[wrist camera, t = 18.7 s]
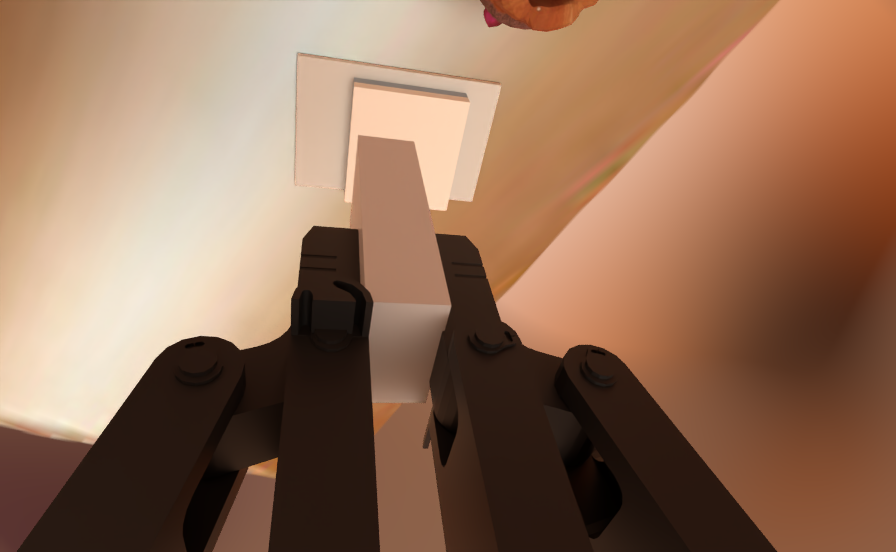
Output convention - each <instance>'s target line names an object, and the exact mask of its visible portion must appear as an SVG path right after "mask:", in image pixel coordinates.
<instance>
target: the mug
mask: <svg viewBox="0 0 896 552" xmlns="http://www.w3.org/2000/svg"><path fill="white" fill-rule="evenodd" d="M480 1H481V2H482V4H483V5H484V6H485V10H484V18H485V21H486V23H487V25H488V27H495V26H498V25H500V24H502V23H503V24H505V25H508V26H510V27H514V28H520V29H532V30H537V31H545V32H547V31H552V30H557V29H561V28H564V27H566V26H569V25H571V24H572V23H573V22H574V21H575V20H576V18H577V17H578V16H579V13H580V12H581V11H582V10H583V9H584V8H587V7H590V6H593V5H595V4H596V3H597V1H598V0H480Z"/></svg>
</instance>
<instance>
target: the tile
mask: <svg viewBox="0 0 896 552" xmlns="http://www.w3.org/2000/svg"><path fill="white" fill-rule="evenodd" d="M469 106H470V101H469V99H468V97H467V94H466V93H461V92H454V91H447V90H440V89H433V88H426V87H419V86H412V85H405V84H397V83H390V82H383V81H376V80H369V79H362V78H355V77H354V81H353V93H352V105H351V117H350V129H349V142H348V154H347V166H346V178H345V190H344V202H352V194H353V184H354V173H355V163H356V152H357V142H358V135H363V136H372V137H380V138H389V139H397V140H406V141H414V143H415V147H416V152H417V156H418V161H419V165H420V169H421V174H422V178H423V183H424V187H425V191H426V196H427V200H428V205H429V209H433V210H444V211H446V210H447V205H448V201H449V196H450V192H451V187H452V183H453V178H454V174H455V169H456V165H457V160H458V156H459V151H460V147H461V142H462V138H463V133H464V129H465V124H466V120H467V115H468V111H469Z"/></svg>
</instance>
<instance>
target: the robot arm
mask: <svg viewBox="0 0 896 552" xmlns="http://www.w3.org/2000/svg"><path fill="white" fill-rule="evenodd" d="M482 265H483V263H482V260H481V257H480V254H479V251H478V249H477V248H476V247H475V246H474V245H473V243H472V242H471V241H470V240H469V239H468V238H467V237H466V236H460V235H447V234H435V231H434V227H433V222H432V218H431V213H430V209H429V205H428V200H427V196H426V191H425V187H424V183H423V178H422V174H421V169H420V165H419V161H418V156H417V152H416V147H415V143H414V141H406V140H397V139H389V138H380V137H372V136H363V135H358V142H357V152H356V163H355V173H354V184H353V194H352V205H351V216H350V229H348V228H334V227H321V226H313V227H312V228H311V230H310V231H309V232H308V233H307V234H306V235H305V237H304V238H303V240H302V250H301V260H300V270H299V279H298V287H297V288H296V289H295V291H294V294H293V296H292V298H291V326H290V328H289V329H288V331H286V332H285V333H284V334H283V335H282V336H281V337H279V338H277V339H276V340H274V341H272V342H270V343H267V344H264V345H261V346H257V347H253V348H248V349H244V350H239V349H238V348H237V347H236V346H235V345H234V344H233V343H232V342H229V341H227V340H224V339H221V338H219V337H208V336H198V337H193V338H188V339H184V340H181V341H179V342H177V343H175V344H173V345H171V346H169V347H167V348H166V349H165V350H164V351H163V352H162V353H161V354H160V355H159V356H158V357H157V358H156V359H155V360H154V361H153V363H152V364H151V366H150V367H149V368H148V370H147V371H146V373H145V374H144V375H143V377H142V378H141V379H140V381H139V382H138V384H137V385H136V386H135V388H134V389H133V391H132V392H131V393H130V395H129V396H128V398H127V399H126V400H125V402H124V403H123V405H122V406H121V407H120V409H119V410H118V411H117V413H116V414H115V416H114V417H113V418H112V420H111V421H110V423H109V424H108V425H107V427H106V428H105V430H104V431H103V432H102V434H101V435H100V436H99V438H98V439H97V441H96V442H95V443H94V445H93V446H92V448H91V449H90V450H89V452H88V453H87V455H86V456H85V457H84V459H83V460H82V462H81V463H80V464H79V466H78V467H77V468H76V470H75V471H74V473H73V474H72V476H71V477H70V478H69V480H68V481H67V482H66V484H65V485H64V487H63V488H62V489H61V491H60V492H59V493H58V495H57V497H56V498H55V499H54V501H53V502H52V503H51V505H50V506H49V508H48V509H47V510H46V512H45V513H44V514H43V516H42V517H41V519H40V520H39V521H38V523H37V524H36V526H35V527H34V528H33V530H32V531H31V532H30V534H29V535H28V537H27V538H26V539H25V541H24V542H23V544H22V545H21V546H20V548H19V549H18V550H17V552H212V551H213V549H214V547H215V544H216V542H217V540H218V537H219V535H220V533H221V530H222V528H223V526H224V523H225V521H226V519H227V516H228V514H229V512H230V509H231V507H232V505H233V503H234V500H235V498H236V495H237V493H238V491H239V489H240V486H241V484H242V482H243V479H244V477H245V475H246V472H247V470H248V467H249V466H252V465H255V464H258V463H261V462H265V461H268V460H271V459H274V458H277V457H278V463H277V472H276V482H275V492H274V502H273V511H272V522H271V532H270V540H269V551H268V552H380V545H379V524H378V505H377V488H376V466H375V449H374V428H373V409H372V403H426V400H427V396H428V392H429V389H430V390H431V396H432V402H433V407H432V410H431V414H430V417H429V421H428V425H427V429H426V432H425V435H424V440H423V448H428V446H429V443H430V440H431V445H432V451H433V459H434V466H435V473H436V480H437V487H438V495H439V501H440V509H441V516H442V523H443V530H444V538H445V544H446V552H777V551H776V550H775V548H774V547H773V546H772V545H771V543H770V542H769V541H768V540H767V539H766V537H765V536H764V535H763V533H762V532H761V531H760V530H759V529H758V527H757V526H756V525H755V524H754V522H753V521H752V520H751V519H750V517H749V516H748V515H747V514H746V513H745V511H744V510H743V509H742V508H741V506H740V505H739V504H738V503H737V502H736V500H735V499H734V498H733V496H732V495H731V494H730V493H729V492H728V490H727V489H726V488H725V487H724V485H723V484H722V483H721V482H720V481H719V479H718V478H717V477H716V475H715V474H714V473H713V472H712V471H711V469H710V468H709V467H708V466H707V464H706V463H705V462H704V461H703V459H702V458H701V457H700V456H699V455H698V454H697V452H696V451H695V450H694V448H693V447H692V446H691V445H690V443H689V442H688V441H687V440H686V438H685V437H684V436H683V435H682V434H681V432H680V431H679V430H678V429H677V427H676V426H675V425H674V424H673V422H672V421H671V420H670V419H669V418H668V416H667V415H666V414H665V413H664V411H663V410H662V409H661V408H660V406H659V405H658V404H657V403H656V401H655V400H654V399H653V398H652V397H651V395H650V394H649V393H648V392H647V390H646V389H645V388H644V387H643V385H642V384H641V383H640V382H639V380H638V379H637V378H636V377H635V376H634V374H633V373H632V372H631V371H630V369H628V367H627V366H626V365H625V364H624V363H623V362H622V361H621V360H620V359H619V358H618V357H617V356H616V355H614V354H612V353H610V352H609V351H607V350H605V349H603V348H600V347H596V346H593V345H578V346H575V347H573V348H570V349H569V350H568V351H567V353H566V354H565V356H564V357H563V358H559V357H556V356H552V355H549V354H545V353H542V352H538V351H535V350H533V349H529V348H527V347H526V346H524V345H522V342H521V340H520V338H519V337H518V335H517V333H516V332H515V331H514V330H513V329H512V328H511V327H509V326H508V325H507V324H506V323H504V322H501V320H500V316H499V313H498V310H497V307H496V304H495V301H494V298H493V295H492V291H491V288H490V285H489V282H488V279H486V273H485V270H484V267H482Z"/></svg>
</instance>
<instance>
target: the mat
mask: <svg viewBox="0 0 896 552" xmlns="http://www.w3.org/2000/svg"><path fill="white" fill-rule="evenodd" d="M354 77H355V78H362V79H369V80H376V81H383V82H390V83H397V84H405V85H412V86H419V87H426V88H433V89H440V90H447V91H454V92H461V93H466V94H467V97H468V99H469V101H470V106H469V111H468V115H467V120H466V124H465V129H464V133H463V138H462V142H461V147H460V151H459V156H458V160H457V165H456V169H455V174H454V178H453V183H452V187H451V192H450V196H449V200H460V201H471V202H472V199H473V195H474V192H475V188H476V184H477V180H478V176H479V172H480V168H481V164H482V160H483V156H484V152H485V148H486V144H487V140H488V137H489V133H490V129H491V125H492V121H493V117H494V113H495V109H496V105H497V101H498V97H499V93H500V89H501V84H500V83H497V82H490V81H483V80H476V79H470V78H463V77H456V76H450V75H443V74H436V73H429V72H423V71H416V70H409V69H403V68H396V67H389V66H382V65H376V64H369V63H362V62H356V61H349V60H342V59H335V58H329V57H322V56H315V55H309V54H302V53H298V55H297V108H296V161H295V185H298V186H308V187H319V188H330V189H341V190H345V178H346V166H347V154H348V142H349V129H350V117H351V105H352V93H353V81H354Z"/></svg>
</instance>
